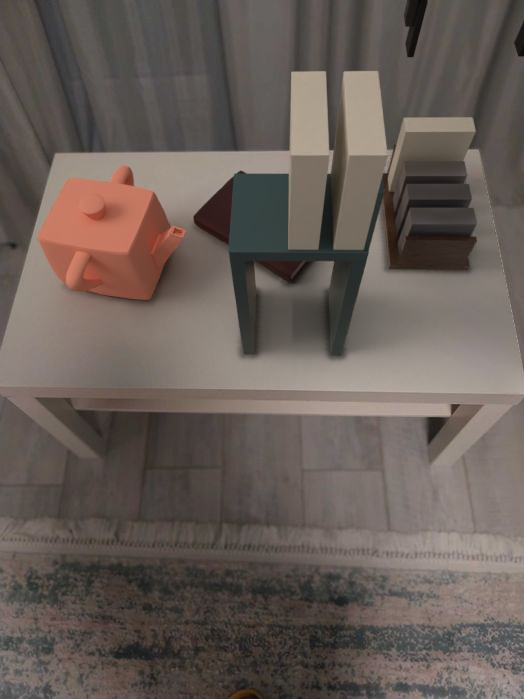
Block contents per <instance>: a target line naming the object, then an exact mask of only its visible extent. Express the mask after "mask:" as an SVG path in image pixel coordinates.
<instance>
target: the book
mask: <svg viewBox="0 0 524 699" xmlns="http://www.w3.org/2000/svg"><path fill="white" fill-rule="evenodd" d="M235 174H248V173H247V172H245V171H244V170H238V172H236V173H235ZM233 181H234V175H233V176H231V177H230V178H229V179H228V180H227V181H226V182H225V183H224V184H223V185H222V186H221V188H220V189H218V190H217V191H216V192H215V193H214V194H213V195H212V196H211V197H210V198H209V199H208V200H207V201H206V202H205V203H204V204H203V205H201V207H200V208H199V209H198V210H197V211H196V212H195V214H194V215H193V217H192V219H193V223H194V224H195V226H196V227H198V228H200V229H201V230H203V231H205V232H207V233H208V234H210V235H211V236H213V237H215V238H216V239H218V240H220V241H221V242H224V243H225V244H227V245H228V246H229V236H230V222H231V209H232V195H233ZM255 263H257V264H259V265H261V266H262V267H264V268H266V269H267V270H269V271H270V272H272V273H273V274H274V275H275V276H278V277H279V278H281V279H282V280H284V281H285V282H287V283H292V282H293V281H294V280H296V278H297V277H298V276H299V274H300V273H301V272H302V271H303V270H304V268H305V267H306V266H307V264H309V263H310V261H255Z"/></svg>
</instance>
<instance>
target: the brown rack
mask: <svg viewBox="0 0 524 699" xmlns="http://www.w3.org/2000/svg"><path fill="white" fill-rule="evenodd" d="M396 145H397V144H394V145H393V149H392V152H391V156H390V160H389V164H388V168H387V171H386V172H383V185H384V195H383V199H382V203H381V204H382V211H383V222H384V232H385V242H386V251H387V260H388V261H387V262H388V269H389V270H468V269H469V268H470V260H469V256H470V254H471V253H472V251H473V249H474V248H475V246H476V244H477V242H478V237H477V236H472V235H473V233H474V232H475V229H476V227H477V225H478V222H477V217H476V216H477V215H476V212H475V208H474V207H470V204H471V202H472V201H473V197H472V191H471V187H470V183H466V180H467V178H468V171H467V168H466V162H465V160H463V161H404V163H403V166H402V170H401V173H400V176H399V180H398V183H397V187H396V190H395V192H389V187H388V175H389V171H390V167H391V164H392V160H393V156H394V152H395V149H396Z"/></svg>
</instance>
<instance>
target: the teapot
mask: <svg viewBox="0 0 524 699" xmlns="http://www.w3.org/2000/svg"><path fill="white" fill-rule="evenodd" d="M134 178H135V177H134V173H133V171H132V169H131V167H130V166H129V165H120V166H118V167H117V168H116V169H115V170H114V172H113V174H112V176H111V177H110V179H109V181H105V180H97V179H88V178H77V177H76V178H75V177H71V178H67V179H66V181H65V183H63V184H64V185H63V186H62V188H61V189H60V191H59V193H58V195H57V196H56V199H55V200H54V202H53V204H52V206H51V208H50V210H49V212H48V214H47V215H46V217H45V219H44V222H43V224H42V225H41V228H40V230H39V232H38V234H37V237H36V239H37V241H38V243H39V245H40V248H41V250H42V252H43V254H44V256H45V258H46V260H47V262H48V264H49V265H50V268H51V269H52V271H53V272H54V274H55V275H56V277H57V278H58V279H59V280H60V281H61V282H63V283H64V284H65V285H66V286H67V288H68V289H70V290H71V291H74V292H78V293H82V292H83V293H84V292H90V293H94V294H99V295H104V296H108V297H115V298H122V299H131V300H139V301H148V300H151V298H152V297H153V295H154V292H155V291H156V288H157V286H158V283H159V280H160V278H161V275H162V273H163V270H164V267H165V266H166V262H167V260H168V259H169V258H170V257H171V255H173V253H174V252H175V250H176V249H177V248H178V246H180V244H181V242H183V240H184V239H185V235H186V232H187V229H185V228H182V227H179V226H176V225H172V226H171V224H170V221H169V218H168V217H167V214H166V212H165V210H164V208H163V206H162V204H161V202H160V200H159V198H158V196H157V195H156V193H155V191H153V190H151V189H147V188H143V187H138V186H135V179H134Z"/></svg>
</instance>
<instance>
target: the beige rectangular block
mask: <svg viewBox="0 0 524 699" xmlns="http://www.w3.org/2000/svg"><path fill="white" fill-rule="evenodd" d="M476 132H477V130H476V125H475V121H474V117H473V116H465V117H464V116H453V117H452V116H449V117H448V116H447V117H446V116H442V117H435V116H434V117H429V116H428V117H425V116H424V117H423V116H421V117H403V119H402V123H401V126H400V130H399V134H398V138H397V142H396V144H395V145H396V149H395V152H394V156H393V160H392V164H391V167H390V171H389V175H388V187H389V192H395V190H396V187H397V183H398V180H399V176H400V173H401V170H402V166H403V163H404V161H465V158H466V155H467V153H468V151H469V148H470V146H471V144H472V142H473V139H474V138H475V135H476Z"/></svg>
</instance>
